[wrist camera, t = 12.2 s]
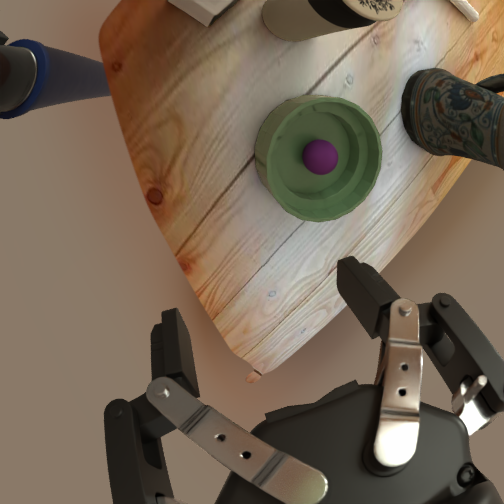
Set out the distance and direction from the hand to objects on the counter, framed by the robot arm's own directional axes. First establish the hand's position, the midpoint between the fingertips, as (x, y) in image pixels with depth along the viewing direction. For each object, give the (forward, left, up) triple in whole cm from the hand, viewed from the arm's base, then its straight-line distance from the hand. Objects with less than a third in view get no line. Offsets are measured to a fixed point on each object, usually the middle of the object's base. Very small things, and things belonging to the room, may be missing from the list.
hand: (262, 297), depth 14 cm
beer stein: (+17, +38, -28) cm, 50 cm away
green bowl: (+10, +12, -28) cm, 32 cm away
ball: (+10, +12, -25) cm, 29 cm away
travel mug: (-8, +22, -28) cm, 37 cm away
